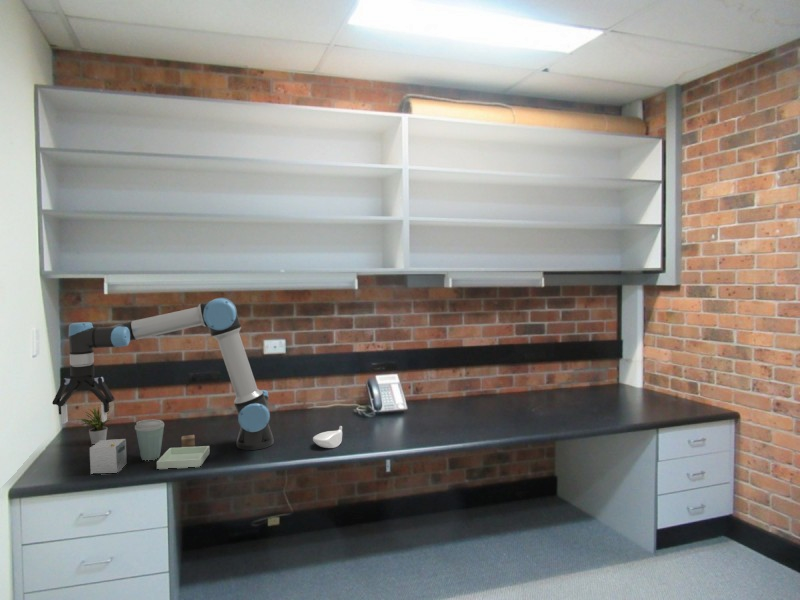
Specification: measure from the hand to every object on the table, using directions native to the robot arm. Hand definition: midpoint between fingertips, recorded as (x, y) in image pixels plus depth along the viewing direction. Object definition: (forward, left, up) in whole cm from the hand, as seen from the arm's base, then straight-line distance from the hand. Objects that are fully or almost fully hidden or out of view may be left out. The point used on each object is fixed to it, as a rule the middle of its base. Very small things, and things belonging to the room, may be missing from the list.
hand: (84, 422), depth 190 cm
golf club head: (-88, -16, -19) cm, 91 cm away
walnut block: (-30, -21, -19) cm, 41 cm away
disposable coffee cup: (-19, -11, -19) cm, 29 cm away
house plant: (+11, -36, -19) cm, 42 cm away
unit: (-7, -1, -19) cm, 20 cm away
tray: (-33, -6, -19) cm, 38 cm away
